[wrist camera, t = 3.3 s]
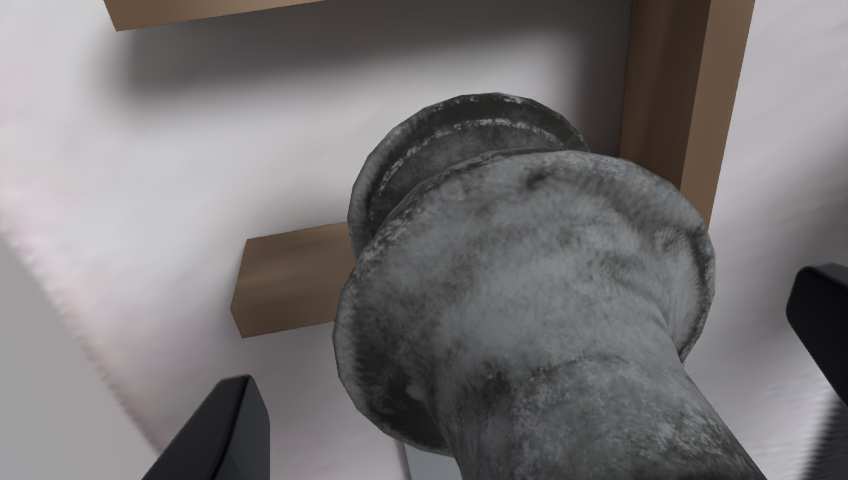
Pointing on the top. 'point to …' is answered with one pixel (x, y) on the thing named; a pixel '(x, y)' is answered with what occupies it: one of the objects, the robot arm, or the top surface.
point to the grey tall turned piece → (528, 302)
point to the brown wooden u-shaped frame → (639, 142)
